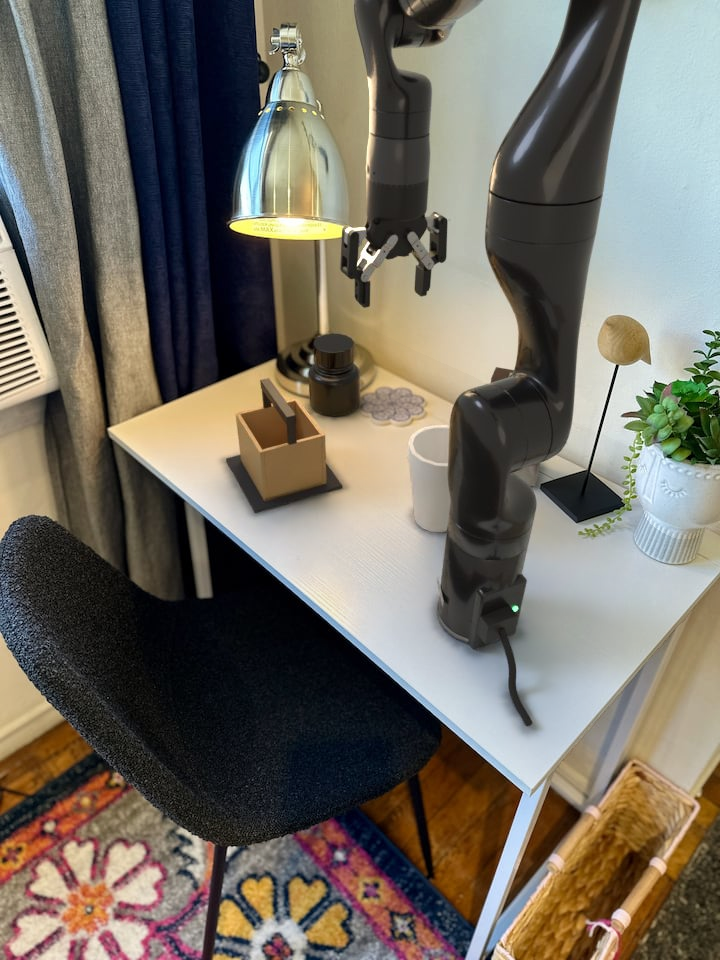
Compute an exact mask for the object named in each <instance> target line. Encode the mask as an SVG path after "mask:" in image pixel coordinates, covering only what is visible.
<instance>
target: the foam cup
mask: <svg viewBox="0 0 720 960" xmlns="http://www.w3.org/2000/svg"><path fill="white" fill-rule="evenodd" d="M448 448H449V425H447V424H446V425H444V424H443V425H441V424H434V425H429V426H425V427H422V428H419V429H418V430H416V431H415V432H413V433H412V434H411V435H410V438H409V440H408V443H407V453H406V454H407V456H406V459H407V461H408V467H409V473H410V474H409V476H410V477H409V478H410V485H411V486H410V487H411V498H412V506H413V514H414V516H413V517H414V520H415V522H416V524H417V525H418V526H419V527H420V528H422V529H423V530H426V531H429V532H432V533H444V532H447V526H448V517H449V509H450V494H449V488H448V481H447V469H448Z"/></svg>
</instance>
